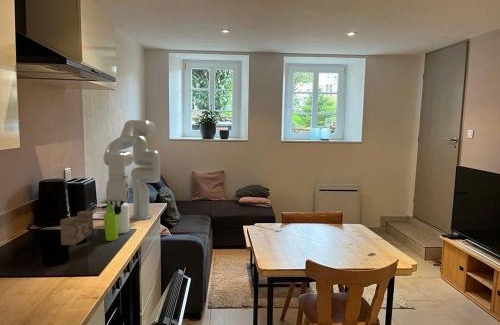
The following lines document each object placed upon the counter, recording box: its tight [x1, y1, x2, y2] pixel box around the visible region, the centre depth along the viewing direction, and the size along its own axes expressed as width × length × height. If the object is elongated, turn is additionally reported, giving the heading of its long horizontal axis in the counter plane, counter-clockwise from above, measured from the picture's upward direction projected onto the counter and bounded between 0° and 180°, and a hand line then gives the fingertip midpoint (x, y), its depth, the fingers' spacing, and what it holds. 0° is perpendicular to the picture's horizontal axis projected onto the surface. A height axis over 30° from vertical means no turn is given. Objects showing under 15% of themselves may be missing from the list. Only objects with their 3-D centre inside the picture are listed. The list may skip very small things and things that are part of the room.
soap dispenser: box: [100, 199, 119, 242], centre depth 180 cm, size 6×7×20 cm
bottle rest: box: [59, 210, 94, 246], centre depth 181 cm, size 20×6×12 cm, turn 178°
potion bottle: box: [113, 201, 130, 235], centre depth 193 cm, size 8×8×18 cm
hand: (117, 213), depth 180 cm, fingers closed
